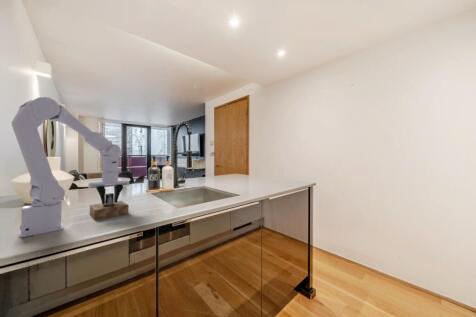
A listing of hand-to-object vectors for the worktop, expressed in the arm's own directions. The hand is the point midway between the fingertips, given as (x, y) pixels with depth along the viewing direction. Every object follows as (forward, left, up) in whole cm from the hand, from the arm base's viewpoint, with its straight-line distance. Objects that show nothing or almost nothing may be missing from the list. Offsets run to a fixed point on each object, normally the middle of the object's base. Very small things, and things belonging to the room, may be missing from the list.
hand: (109, 202), depth 80 cm
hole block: (0, 0, -5) cm, 5 cm away
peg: (0, 0, -5) cm, 5 cm away
